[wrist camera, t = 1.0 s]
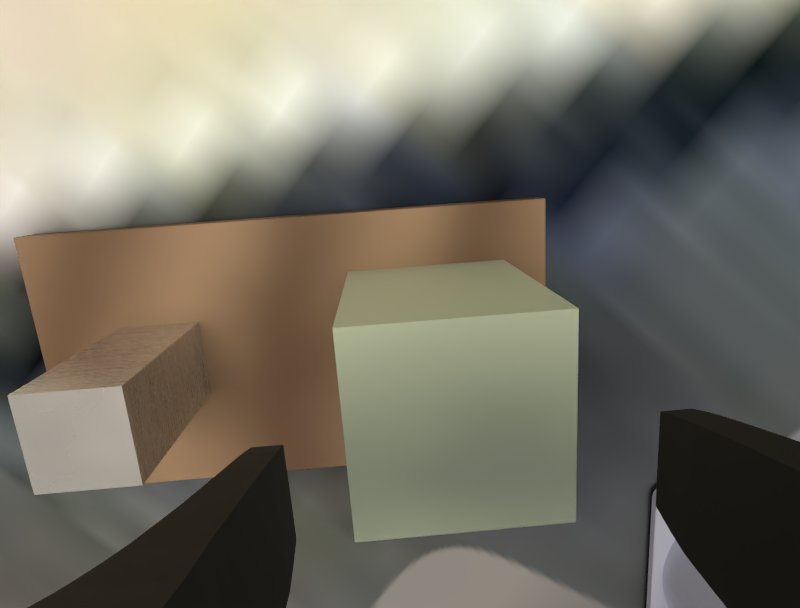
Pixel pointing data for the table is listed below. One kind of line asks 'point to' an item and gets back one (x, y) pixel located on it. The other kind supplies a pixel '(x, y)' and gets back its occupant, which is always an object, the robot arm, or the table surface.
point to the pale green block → (456, 400)
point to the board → (256, 307)
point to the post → (111, 408)
